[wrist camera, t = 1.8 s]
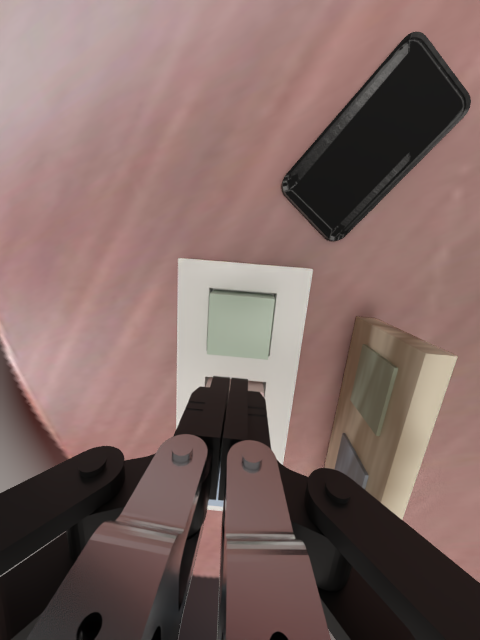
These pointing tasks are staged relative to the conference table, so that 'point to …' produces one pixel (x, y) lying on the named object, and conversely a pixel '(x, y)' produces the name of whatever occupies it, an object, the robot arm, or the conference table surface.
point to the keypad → (274, 373)
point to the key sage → (240, 324)
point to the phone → (377, 138)
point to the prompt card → (387, 410)
